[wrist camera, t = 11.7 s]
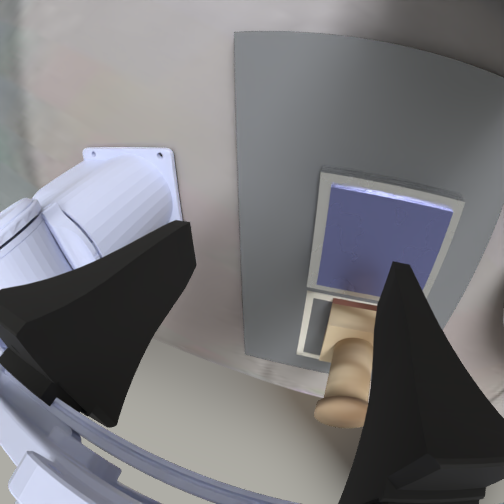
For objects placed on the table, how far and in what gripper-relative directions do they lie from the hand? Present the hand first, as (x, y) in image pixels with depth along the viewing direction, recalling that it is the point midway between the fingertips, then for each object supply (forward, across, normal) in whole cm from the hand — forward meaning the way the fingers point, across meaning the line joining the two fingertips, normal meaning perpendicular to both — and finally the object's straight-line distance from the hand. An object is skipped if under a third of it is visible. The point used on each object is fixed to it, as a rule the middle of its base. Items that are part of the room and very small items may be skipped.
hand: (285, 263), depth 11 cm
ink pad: (+10, -4, +5) cm, 12 cm away
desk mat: (+10, -4, +7) cm, 13 cm away
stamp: (+10, -5, +13) cm, 17 cm away
